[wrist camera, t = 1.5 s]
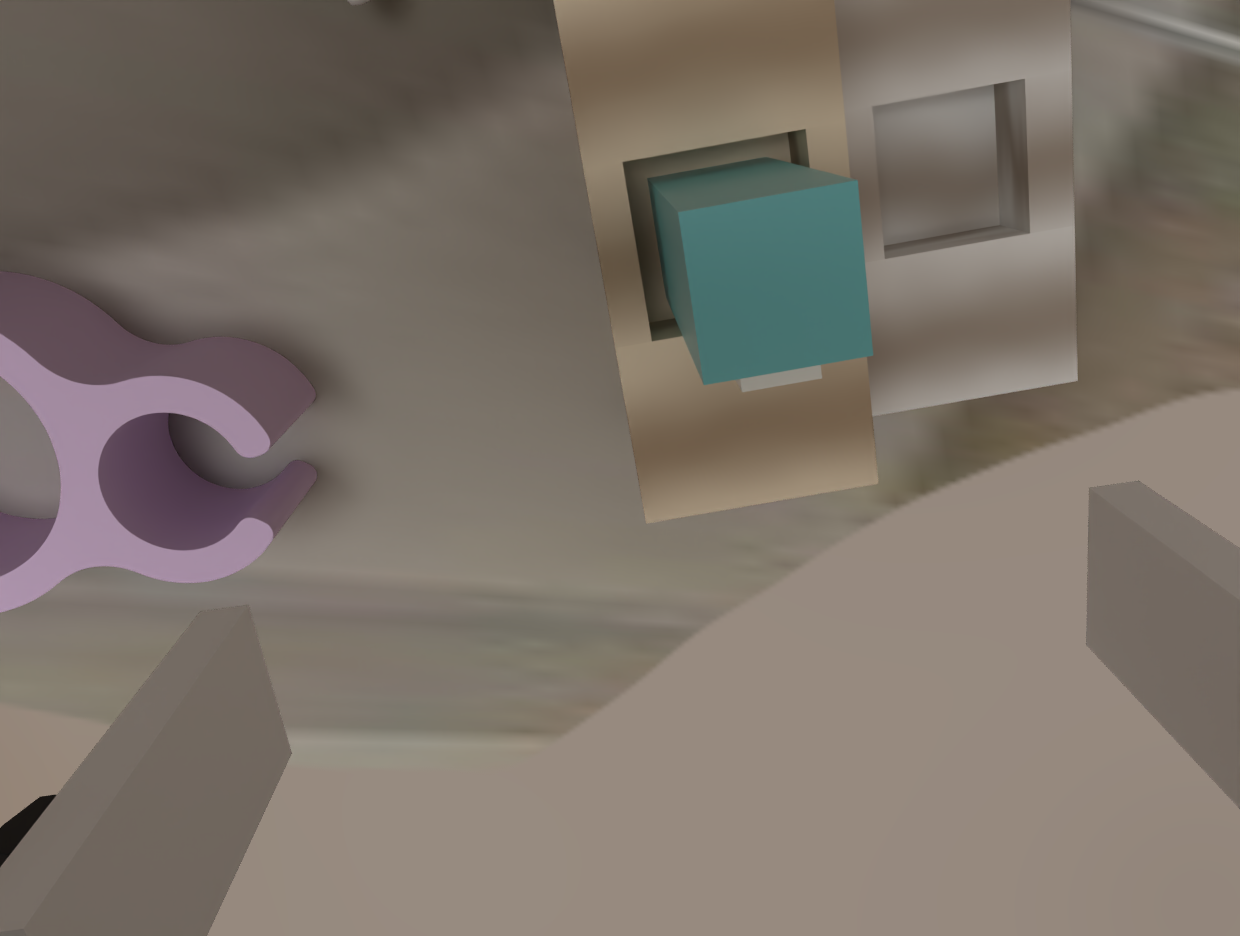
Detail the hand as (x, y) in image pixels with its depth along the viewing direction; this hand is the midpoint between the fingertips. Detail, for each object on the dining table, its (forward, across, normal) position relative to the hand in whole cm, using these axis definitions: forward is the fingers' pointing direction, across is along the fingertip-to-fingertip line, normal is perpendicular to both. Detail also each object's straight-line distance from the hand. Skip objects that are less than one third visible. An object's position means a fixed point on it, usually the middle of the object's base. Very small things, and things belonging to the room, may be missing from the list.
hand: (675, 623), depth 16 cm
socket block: (+29, +8, +4) cm, 30 cm away
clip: (+29, -24, -2) cm, 38 cm away
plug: (+21, +3, +3) cm, 21 cm away
